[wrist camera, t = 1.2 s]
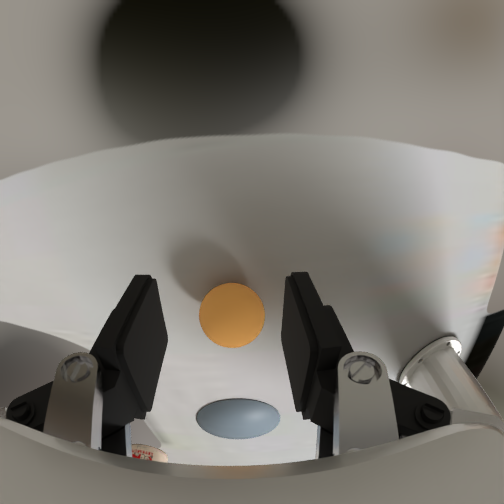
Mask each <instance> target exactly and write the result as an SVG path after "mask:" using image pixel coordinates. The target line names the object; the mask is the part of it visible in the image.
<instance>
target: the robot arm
mask: <svg viewBox="0 0 504 504" xmlns="http://www.w3.org/2000/svg"><path fill="white" fill-rule="evenodd" d="M281 341H282V346H283V351H284V356H285V360H286V365H287V370H288V375H289V380H290V384H291V389H292V394H293V399H294V404H295V409H296V411H297V412H301V411H302V416H303V420H306V419H310V420H311V422H313V423H315V424H317V425H318V429H317V444H316V456H315V459H314V460H307V461H300V462H291V463H282V464H270V465H253V466H204V465H187V464H176V463H166V462H158V461H151V460H145V459H139V458H133V457H132V447H131V430H130V422H132V421H134V418H137V419H144V420H145V416H146V412H150V411H151V409H152V405H153V401H154V396H155V392H156V388H157V383H158V379H159V375H160V371H161V367H162V363H163V359H164V355H165V351H166V347H167V343H168V335H167V330H166V326H165V321H164V317H163V312H162V307H161V302H160V297H159V291H158V286H157V281H156V279H152V277H151V275H135V276H134V278H133V279H132V281H131V283H130V284H129V286H128V287H127V289H126V291H125V293H124V294H123V296H122V298H121V299H120V301H119V303H118V304H117V306H116V308H115V309H114V310H113V311H112V312H111V314H110V316H109V318H108V319H107V321H106V323H105V325H104V327H103V328H102V330H101V332H100V334H99V336H98V338H97V339H96V341H95V343H94V345H93V347H92V349H91V351H90V353H89V354H88V353H85V352H84V353H83V352H78V353H73V354H71V355H68V356H67V357H65V358H64V359H63V360H62V361H61V362H60V363H59V365H58V367H57V369H56V373H55V377H54V381H52V382H50V383H48V384H46V385H43V386H41V387H39V388H37V389H35V390H33V391H31V392H28V393H26V394H24V395H22V396H20V397H18V398H16V399H14V400H13V401H12V402H11V403H10V405H9V407H8V408H5V407H3V408H0V504H504V420H503V419H502V417H501V416H500V414H499V412H498V411H497V409H496V408H495V406H494V405H493V403H492V402H491V400H490V399H489V397H488V396H487V394H486V393H485V391H484V390H483V388H482V387H481V385H480V384H479V383H478V381H477V380H476V378H475V377H474V376H473V374H472V373H471V371H470V370H469V369H468V367H467V366H466V365H465V363H464V362H463V361H462V359H461V358H460V357H459V356H460V353H461V348H462V347H461V343H460V341H459V340H458V339H457V338H456V337H453V336H448V337H443V338H441V339H438V340H436V341H434V342H433V343H431V344H429V345H428V346H426V347H425V348H424V349H423V350H421V351H420V352H419V353H418V354H417V355H416V356H415V357H414V358H413V359H412V360H411V361H410V362H409V363H408V365H407V366H406V367H405V369H404V370H403V372H402V374H401V376H400V380H399V383H398V382H396V381H393V380H391V379H389V378H388V373H387V369H386V366H385V364H384V363H383V361H382V360H381V359H380V358H378V357H377V356H375V355H373V354H370V353H368V352H361V351H359V352H354V351H353V349H352V347H351V345H350V342H349V340H348V338H347V336H346V334H345V332H344V330H343V328H342V326H341V324H340V322H339V320H338V318H337V316H336V314H335V312H334V310H333V308H332V307H331V306H330V305H327V306H323V304H322V302H321V300H320V298H319V295H318V293H317V291H316V289H315V287H314V285H313V283H312V281H311V279H310V277H309V274H308V273H307V272H292V273H291V276H287V277H286V280H285V293H284V306H283V319H282V330H281Z"/></svg>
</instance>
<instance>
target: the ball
mask: <svg viewBox="0 0 504 504" xmlns="http://www.w3.org/2000/svg"><path fill="white" fill-rule="evenodd" d="M199 320H200V324H201V327H202V329H203V331H204V333H205V334H206V336H207V337H208V338H209V339H210V340H212V341H213V342H214V343H216V344H218V345H220V346H223V347H228V348H236V347H241V346H244V345H247V344H248V343H250V342H252V341H253V340H254V339H255V338H256V337H257V336H258V335H259V333H260V332H261V330H262V327H263V325H264V320H265V311H264V307H263V304H262V301H261V300H260V298H259V296H258V295H257V294H256V293H255V292H254V291H253V290H252V289H250V288H249V287H247V286H245V285H242V284H238V283H225V284H222V285H219V286H217V287H215V288H213V289H212V290H211V291H210V292H209V293H208V294H207V295H206V296H205V297H204V299H203V301H202V303H201V306H200V311H199Z"/></svg>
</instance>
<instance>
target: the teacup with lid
mask: <svg viewBox="0 0 504 504" xmlns="http://www.w3.org/2000/svg"><path fill="white" fill-rule="evenodd" d="M131 447H132V457H133V458H139V459H145V460H151V461H158V462H166V463H167V460H168V457H167V455H166V454H165V453H164V452H163V451H161V450H159V449H157V448H154V447H151V446H147V445H142V444H132V445H131Z"/></svg>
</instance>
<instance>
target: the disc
mask: <svg viewBox="0 0 504 504" xmlns="http://www.w3.org/2000/svg"><path fill="white" fill-rule="evenodd" d="M279 421H280V415H279V413H278V411H277V410H276V409H275V408H274V407H272V406H271V405H269V404H266V403H264V402H260V401H255V400H249V399H229V400H223V401H218V402H215V403H212V404H209V405H207V406H205V407H204V408H202V409H201V410H200V411H199V413H198V415H197V422H198V424H199V426H200V427H201V428H202V429H203V430H205V431H206V432H208V433H210V434H212V435H215V436H218V437H222V438H228V439H248V438H254V437H258V436H261V435H264V434H266V433H268V432H270V431H272V430H273V429H274V428H275V427H276V426H277V425H278V424H279Z"/></svg>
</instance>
